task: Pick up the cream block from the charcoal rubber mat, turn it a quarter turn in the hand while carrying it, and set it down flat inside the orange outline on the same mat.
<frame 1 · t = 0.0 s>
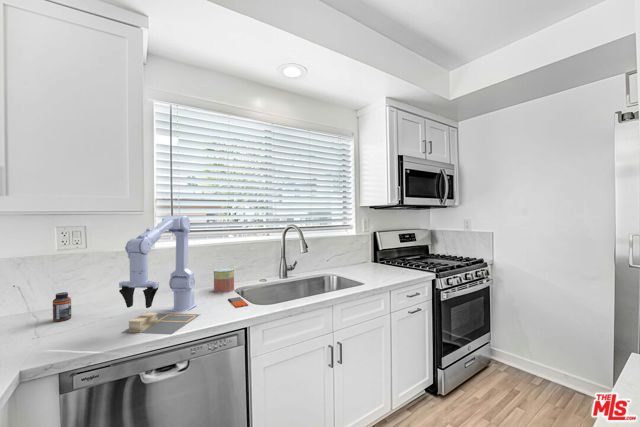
hand: (139, 307, 110), 10 cm above the worktop, tool pointing down, fingers open, 7 cm apart
supplement bottle: (62, 320, 126), on the worktop
canned food: (224, 290, 172), on the worktop
cream block: (144, 327, 116), point 1 cm above the worktop, touching rubber mat
phone: (237, 304, 148), on the worktop
rubber mat: (164, 324, 120), on the worktop
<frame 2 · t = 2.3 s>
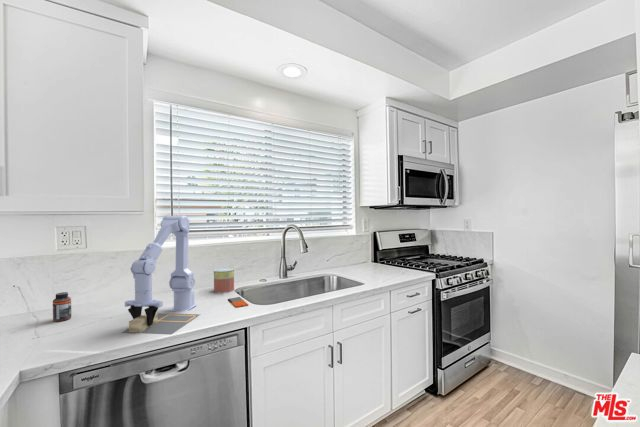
hand: (143, 325, 116), 1 cm above the worktop, tool pointing down, fingers closed on cream block, 4 cm apart
cream block: (144, 327, 116), point 1 cm above the worktop, touching gripper, rubber mat
everything else where it was.
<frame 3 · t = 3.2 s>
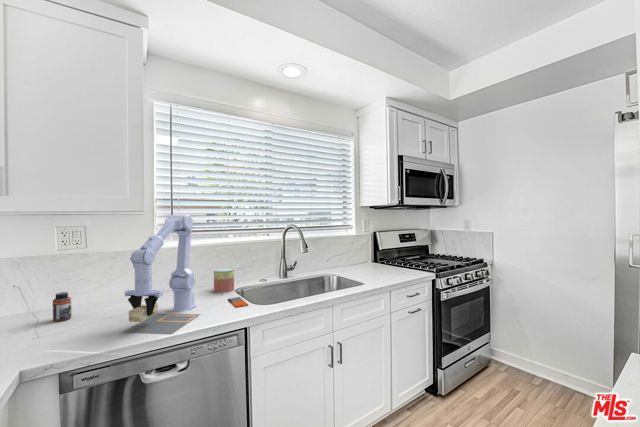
hand: (143, 314, 116), 5 cm above the worktop, tool pointing down, fingers closed on cream block, 4 cm apart
cream block: (143, 316, 116), point 5 cm above the worktop, touching gripper
everything else where it was.
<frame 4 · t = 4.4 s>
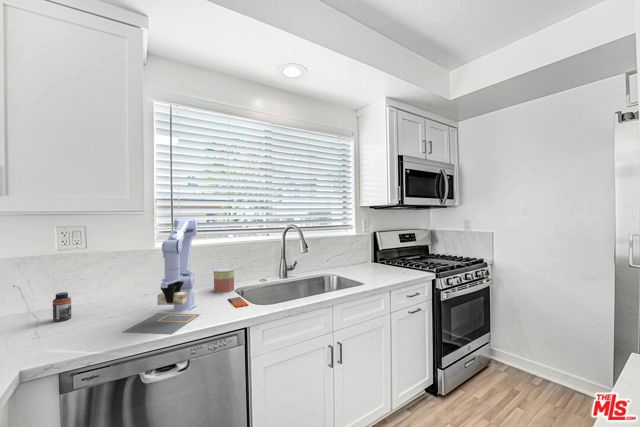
hand: (172, 300, 124), 8 cm above the worktop, tool pointing down, fingers closed on cream block, 4 cm apart
cream block: (172, 303, 124), point 7 cm above the worktop, touching gripper
everything else where it was.
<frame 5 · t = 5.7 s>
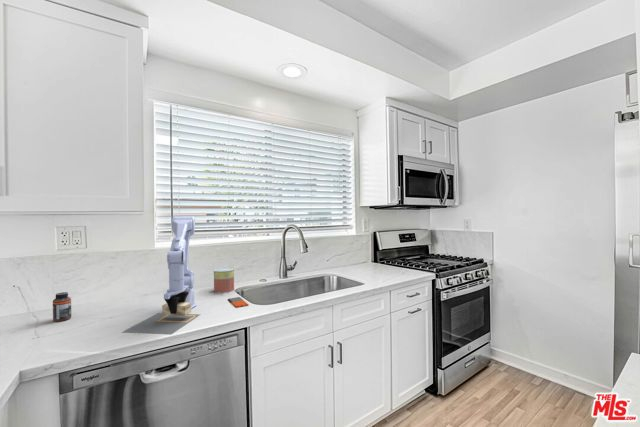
hand: (177, 311, 125), 4 cm above the worktop, tool pointing down, fingers closed on cream block, 4 cm apart
cream block: (176, 313, 125), point 3 cm above the worktop, touching gripper
everything else where it was.
when the fingers open (3 cm above the worktop, at t = 6.9 s): cream block drops 1 cm, resting on rubber mat.
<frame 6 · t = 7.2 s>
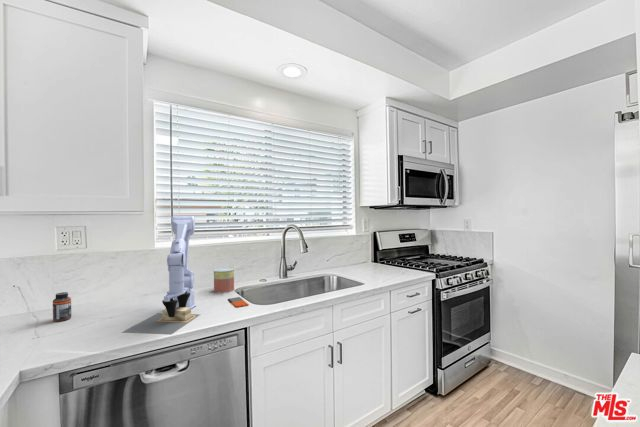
hand: (177, 313, 125), 3 cm above the worktop, tool pointing down, fingers open, 7 cm apart
cream block: (176, 318, 125), point 1 cm above the worktop, touching rubber mat
everything else where it was.
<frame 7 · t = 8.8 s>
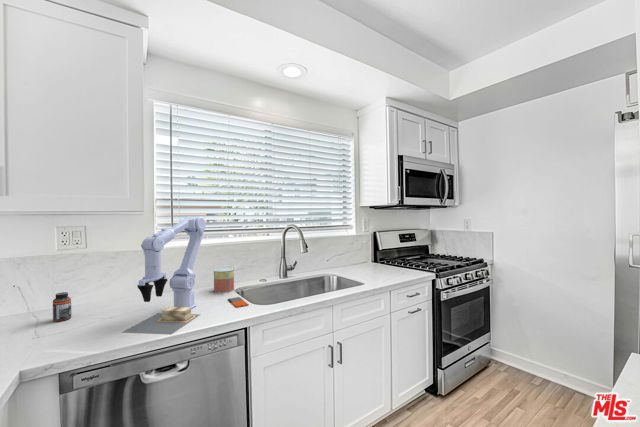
hand: (153, 298, 123), 9 cm above the worktop, tool pointing down, fingers open, 7 cm apart
nothing on the worktop moved.
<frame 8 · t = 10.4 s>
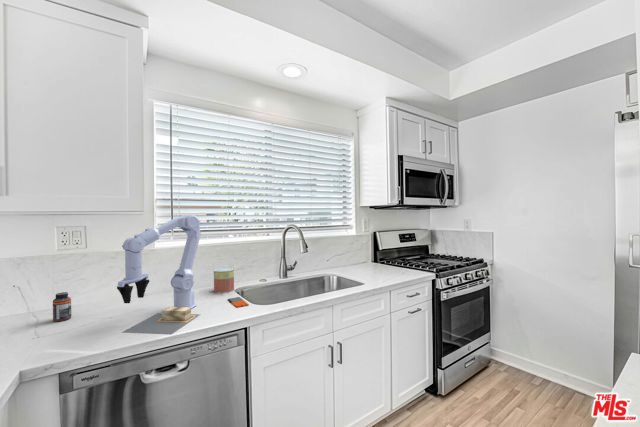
hand: (134, 300, 121), 9 cm above the worktop, tool pointing down, fingers open, 7 cm apart
nothing on the worktop moved.
at the end: cream block 0.1 cm from the target spot on the rubber mat, point 0.6 cm above the rubber mat's base; cream block tilted 0°; the gripper is holding nothing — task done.
